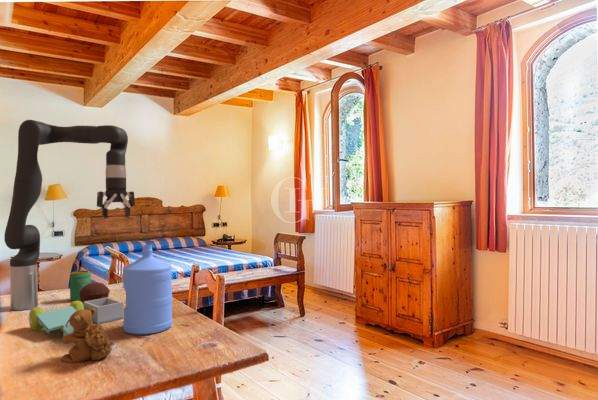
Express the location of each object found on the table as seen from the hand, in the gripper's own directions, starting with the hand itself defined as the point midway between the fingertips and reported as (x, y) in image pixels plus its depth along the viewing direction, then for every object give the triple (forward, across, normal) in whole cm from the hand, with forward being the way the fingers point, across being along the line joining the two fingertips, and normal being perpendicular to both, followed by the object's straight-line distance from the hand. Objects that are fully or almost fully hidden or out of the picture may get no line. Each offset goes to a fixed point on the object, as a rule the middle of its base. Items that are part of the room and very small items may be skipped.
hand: (116, 217), depth 166 cm
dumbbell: (+36, +24, +5) cm, 44 cm away
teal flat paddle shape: (+34, +26, +18) cm, 46 cm away
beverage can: (+36, +4, -26) cm, 45 cm away
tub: (+36, +10, +10) cm, 39 cm away
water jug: (+36, +5, +33) cm, 49 cm away
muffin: (+36, +6, -7) cm, 38 cm away
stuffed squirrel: (+36, +29, +45) cm, 65 cm away
